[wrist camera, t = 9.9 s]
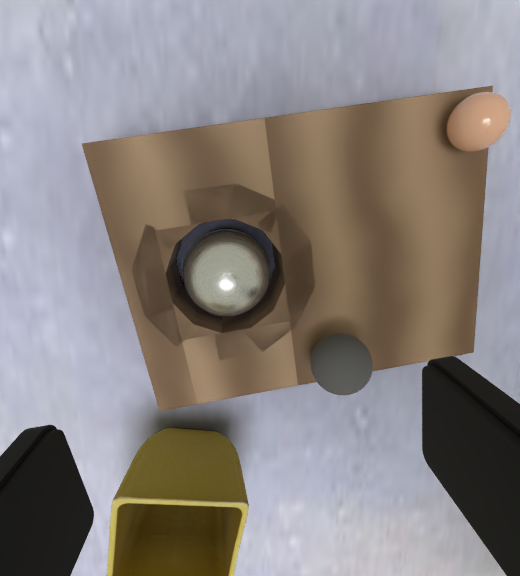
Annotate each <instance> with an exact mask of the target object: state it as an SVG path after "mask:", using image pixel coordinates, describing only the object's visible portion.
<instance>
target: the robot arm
mask: <svg viewBox="0 0 520 576" xmlns="http://www.w3.org/2000/svg"><path fill="white" fill-rule="evenodd" d="M422 449H423V455H424V458H425V460H426V462H427V464H428V466H429V467H430V469H431V470H432V471H433V473H434V474H435V476H436V477H437V478H438V480H439V481H440V483H441V484H442V485H443V487H444V488H445V490H446V491H447V492H448V494H449V495H450V497H451V498H452V499H453V501H454V502H455V504H456V505H457V506H458V508H459V509H460V511H461V512H462V513H463V515H464V516H465V518H466V519H467V520H468V522H469V523H470V525H471V526H472V527H473V529H474V530H475V532H476V533H477V534H478V536H479V537H480V539H481V540H482V541H483V543H484V544H485V546H486V547H487V548H488V550H489V551H490V553H491V554H492V555H493V557H494V558H495V560H496V561H497V562H498V564H499V565H500V567H501V568H502V569H503V571H504V572H505V574H506V575H507V576H520V404H519V403H518V402H516V401H515V400H514V399H512V398H511V397H509V396H508V395H507V394H505V393H504V392H503V391H501V390H500V389H499V388H497V387H496V386H495V385H493V384H492V383H490V382H489V381H488V380H486V379H485V378H484V377H482V376H481V375H480V374H478V373H477V372H475V371H474V370H473V369H471V368H470V367H469V366H467V365H466V364H465V363H463V362H462V361H461V360H459V359H458V358H456V357H454V356H449V357H443V358H437V359H431V360H430V361H429V362H428V365H427V366H425V367H424V368H423V370H422ZM93 518H94V511H93V507H92V505H91V502H90V500H89V497H88V494H87V492H86V489H85V487H84V484H83V481H82V479H81V476H80V474H79V471H78V469H77V466H76V463H75V461H74V458H73V456H72V453H71V451H70V448H69V445H68V443H67V440H66V438H65V435H64V433H63V431H61V430H57V428H56V427H55V426H54V425H46V426H41V427H35V428H29V429H26V430H24V431H23V432H22V433H21V434H20V435H19V436H18V437H17V438H16V440H15V441H14V442H13V443H12V444H11V445H10V446H9V447H8V448H7V450H6V451H5V452H4V453H3V454H2V455H1V456H0V576H70V575H71V573H72V570H73V568H74V566H75V563H76V561H77V559H78V557H79V554H80V552H81V550H82V547H83V545H84V543H85V540H86V538H87V536H88V533H89V531H90V529H91V526H92V523H93Z"/></svg>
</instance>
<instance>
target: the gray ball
mask: <svg viewBox="0 0 520 576" xmlns="http://www.w3.org/2000/svg"><path fill="white" fill-rule="evenodd" d="M310 365H311V371H312V373H313V376H314V378H315V380H316V381H317V382H318V384H319V385H320V386H321V387H322V388H324V389H325V390H327V391H328V392H331V393H333V394H337V395H350V394H353V393H356V392H358V391H359V390H361V389H362V388H363V387H364V386H365V385H366V384H367V383H368V381H369V379H370V377H371V374H372V368H373V363H372V358H371V355H370V352H369V350H368V349H367V347H366V346H365V345H364V344H363V343H362V342H361V341H360V340H359V339H357V338H356V337H354V336H352V335H349V334H344V333H336V334H331V335H328V336H326V337H324V338H323V339H321V340H320V341H319V342H318V343H317V344H316V346H315V347H314V349H313V352H312V354H311V360H310Z"/></svg>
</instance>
